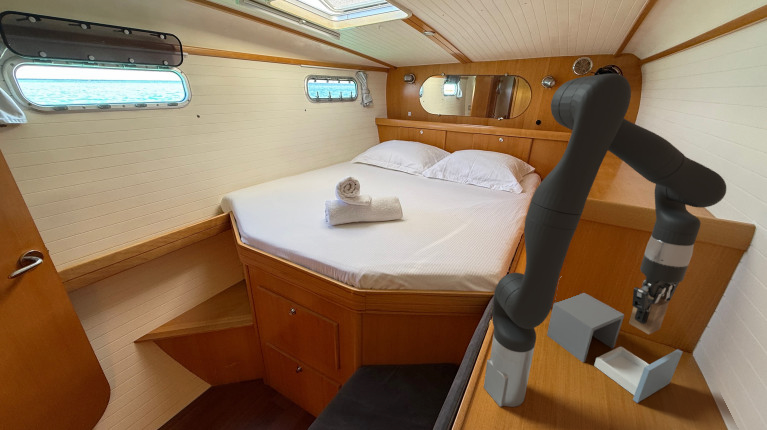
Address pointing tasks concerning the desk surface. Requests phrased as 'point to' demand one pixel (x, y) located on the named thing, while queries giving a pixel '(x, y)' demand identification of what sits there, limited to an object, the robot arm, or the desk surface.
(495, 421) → the desk surface
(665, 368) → the drawer
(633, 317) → the block
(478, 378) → the desk surface
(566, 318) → the cabinet
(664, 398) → the desk surface
